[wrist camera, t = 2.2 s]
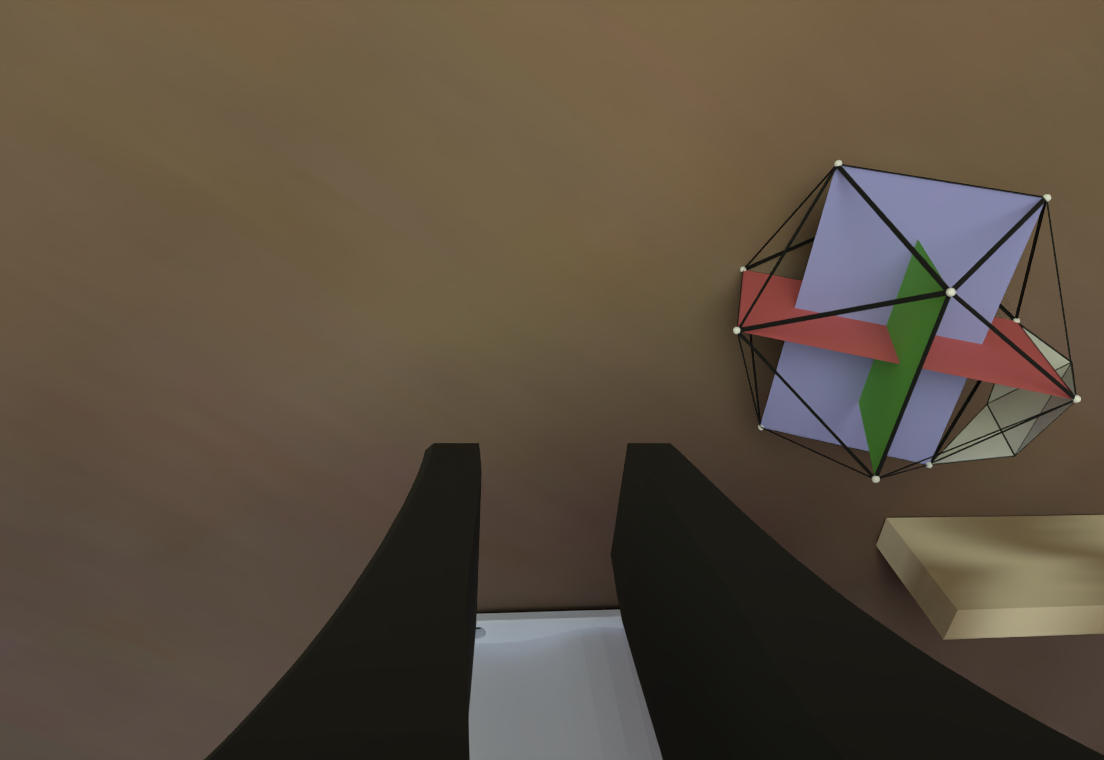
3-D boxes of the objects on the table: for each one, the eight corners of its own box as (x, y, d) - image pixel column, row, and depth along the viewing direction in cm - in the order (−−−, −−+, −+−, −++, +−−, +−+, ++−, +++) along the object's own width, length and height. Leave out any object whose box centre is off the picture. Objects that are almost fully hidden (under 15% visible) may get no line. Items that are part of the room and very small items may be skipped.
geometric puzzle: (630, 420, 19) (946, 611, 14) (682, 143, 15) (1124, 268, 10) (778, 351, 23) (1055, 477, 18) (843, 127, 20) (1201, 210, 15)
